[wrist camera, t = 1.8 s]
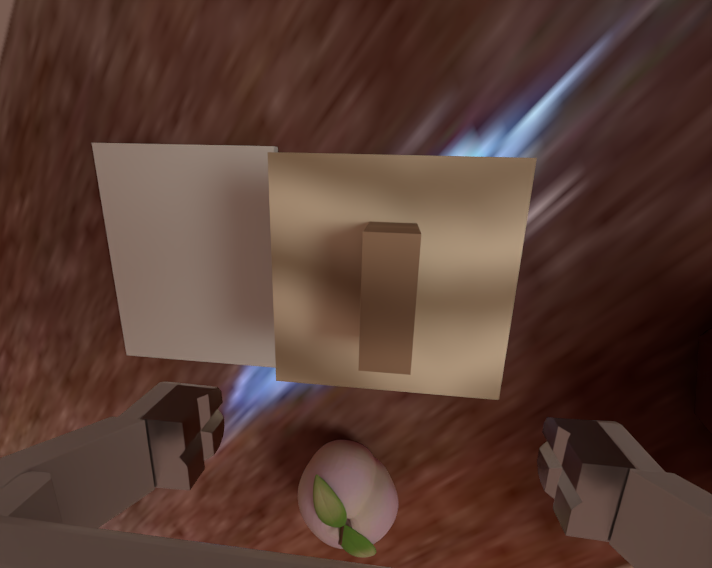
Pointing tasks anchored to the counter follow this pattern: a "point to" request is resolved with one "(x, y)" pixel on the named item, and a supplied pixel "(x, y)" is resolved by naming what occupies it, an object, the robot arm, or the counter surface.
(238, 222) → the rubber mat
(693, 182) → the counter surface
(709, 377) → the bucket
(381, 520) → the decorative fruit
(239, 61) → the counter surface
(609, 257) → the counter surface
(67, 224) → the counter surface
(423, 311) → the birch lid
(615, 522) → the robot arm
